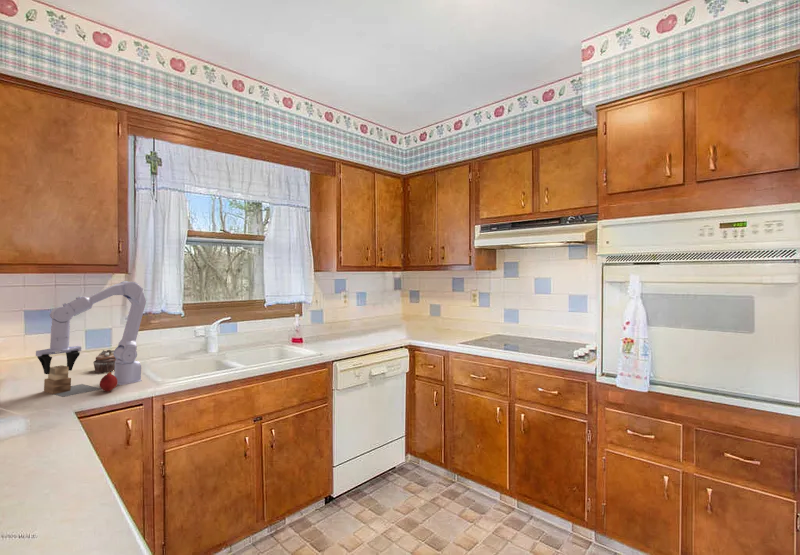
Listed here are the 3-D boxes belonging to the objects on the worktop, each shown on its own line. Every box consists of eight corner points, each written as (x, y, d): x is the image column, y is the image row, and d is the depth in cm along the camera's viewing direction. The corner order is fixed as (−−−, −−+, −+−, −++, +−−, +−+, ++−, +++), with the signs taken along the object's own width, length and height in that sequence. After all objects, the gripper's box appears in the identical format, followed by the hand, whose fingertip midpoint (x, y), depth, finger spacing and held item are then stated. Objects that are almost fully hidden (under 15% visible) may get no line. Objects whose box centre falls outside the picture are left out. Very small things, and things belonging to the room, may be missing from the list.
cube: (61, 376, 165) (61, 365, 165) (68, 378, 164) (68, 366, 164) (48, 378, 161) (48, 367, 161) (54, 380, 159) (55, 368, 160)
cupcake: (104, 368, 205) (105, 348, 205) (122, 369, 204) (123, 349, 204) (87, 372, 195) (88, 351, 195) (106, 373, 194) (107, 352, 194)
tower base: (61, 388, 166) (61, 382, 166) (70, 390, 164) (70, 384, 164) (43, 391, 161) (44, 385, 161) (52, 394, 158) (53, 387, 158)
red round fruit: (107, 394, 162) (108, 374, 162) (95, 393, 163) (96, 372, 163) (120, 391, 168) (121, 371, 168) (108, 389, 169) (109, 370, 169)
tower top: (61, 382, 166) (62, 375, 166) (70, 384, 164) (71, 378, 164) (44, 385, 161) (44, 378, 161) (53, 387, 158) (53, 381, 158)
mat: (82, 384, 174) (82, 383, 174) (102, 389, 168) (102, 388, 168) (42, 392, 161) (42, 391, 161) (63, 397, 156) (63, 396, 156)
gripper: (43, 340, 154) (42, 376, 154) (86, 336, 168) (84, 370, 167) (33, 338, 157) (31, 374, 157) (76, 334, 170) (74, 367, 170)
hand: (58, 372), depth 162 cm, fingers open, 7 cm apart
